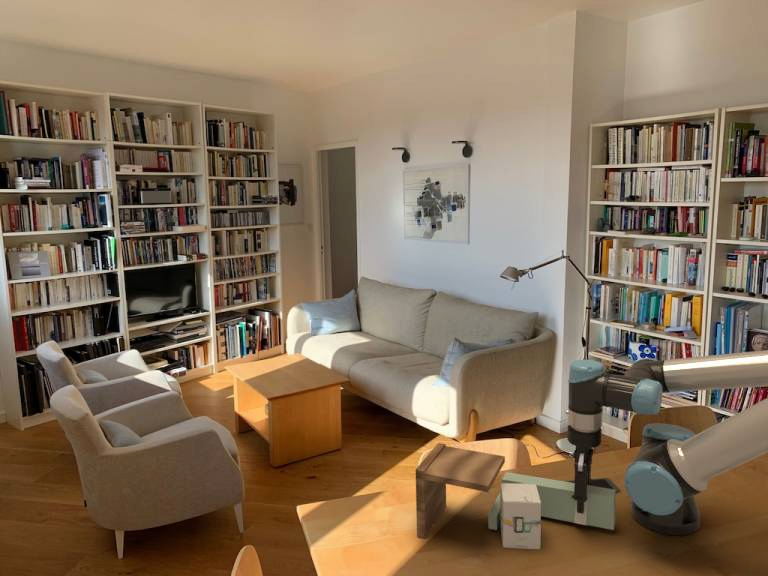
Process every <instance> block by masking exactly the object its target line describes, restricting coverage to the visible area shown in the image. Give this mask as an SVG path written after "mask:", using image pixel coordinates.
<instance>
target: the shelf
mask: <svg viewBox="0 0 768 576" xmlns="http://www.w3.org/2000/svg"><path fill="white" fill-rule="evenodd" d="M505 461H506V456H504V455H500V454H499V455H498V454H494V453H493V454H492V453H487V452H482V451H476V450H471V449H464V448H460V447H454V446H449V445H448V446H447V445H446V444H445V443H441V442H438V443H436V445H435V446H434V447H433V448H432V450H431V451H430V452H429V453H428V454H427V455H426V457H425V458H424V459H423V460H422V461H421V462H420V464H419V465H418V466H417V467H416V468H415V502H416V503H415V505H416V508H415V511H416V537H417V538H421V539H425V540H426V537H427V536H428V534H429V533H431V530H432V529H433V527H434V526H435V524H436V523H437V521H438V520H439V518H440V517H441V515H442V513H443V512H444V510H445V509H446V507H447V485H450V486H453V487H454V486H455V487H460V488H465V489H470V490H475V491H479V492H485V493H489V491H490V490H491V488H492V486H493V484H494V482H495V481H496V480H497V479H496V478H497V477H498V475H499V474H500V472H501V470H502V468H503V467H504V464H505Z"/></svg>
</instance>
